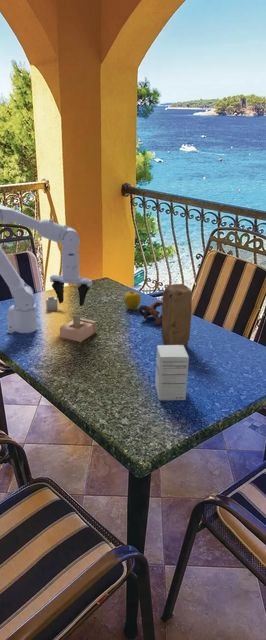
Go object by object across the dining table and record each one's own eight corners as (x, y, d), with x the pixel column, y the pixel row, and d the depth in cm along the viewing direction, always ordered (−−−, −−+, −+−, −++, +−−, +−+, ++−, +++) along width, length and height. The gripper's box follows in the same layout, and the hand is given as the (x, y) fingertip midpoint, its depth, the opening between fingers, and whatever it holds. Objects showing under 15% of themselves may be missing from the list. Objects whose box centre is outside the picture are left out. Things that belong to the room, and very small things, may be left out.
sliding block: (60, 337, 151) (59, 327, 150) (73, 329, 158) (73, 319, 157) (80, 342, 148) (80, 332, 147) (93, 333, 155) (93, 324, 153)
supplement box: (154, 386, 125) (156, 344, 120) (181, 386, 125) (184, 344, 121) (157, 401, 118) (160, 356, 113) (186, 400, 118) (189, 356, 114)
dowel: (71, 335, 153) (71, 316, 150) (76, 333, 155) (76, 314, 152) (77, 337, 151) (76, 318, 149) (82, 335, 153) (81, 316, 151)
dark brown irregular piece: (164, 316, 177) (172, 302, 171) (164, 335, 170) (172, 320, 164) (135, 309, 174) (141, 294, 168) (134, 327, 168) (140, 313, 162)
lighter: (47, 310, 177) (46, 290, 175) (46, 309, 179) (45, 289, 176) (65, 308, 180) (64, 289, 177) (63, 307, 182) (63, 287, 179)
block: (190, 350, 147) (195, 290, 140) (168, 352, 145) (172, 292, 138) (178, 336, 157) (182, 280, 150) (157, 338, 155) (160, 282, 148)
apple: (121, 307, 183) (121, 288, 180) (135, 305, 185) (136, 286, 182) (128, 312, 177) (128, 293, 175) (142, 310, 180) (143, 291, 177)
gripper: (45, 265, 151) (47, 304, 156) (86, 270, 147) (86, 310, 152) (54, 261, 157) (56, 298, 162) (94, 265, 153) (94, 303, 158)
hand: (71, 303), depth 157 cm, fingers open, 7 cm apart
